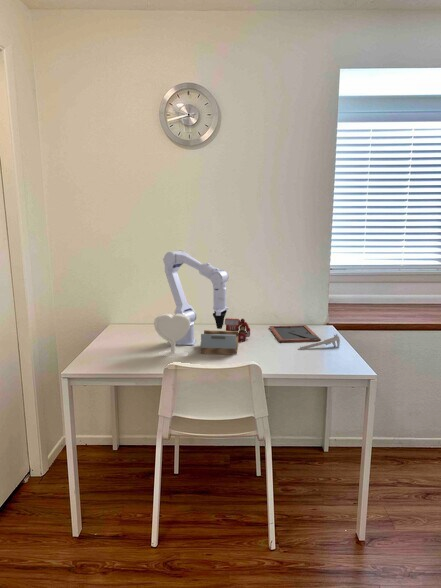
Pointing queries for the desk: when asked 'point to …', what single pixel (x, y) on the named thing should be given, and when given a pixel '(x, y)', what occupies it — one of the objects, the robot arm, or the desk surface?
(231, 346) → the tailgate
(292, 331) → the picture frame
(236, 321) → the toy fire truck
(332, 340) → the caliper
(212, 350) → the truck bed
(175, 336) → the heart sculpture
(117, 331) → the desk surface
